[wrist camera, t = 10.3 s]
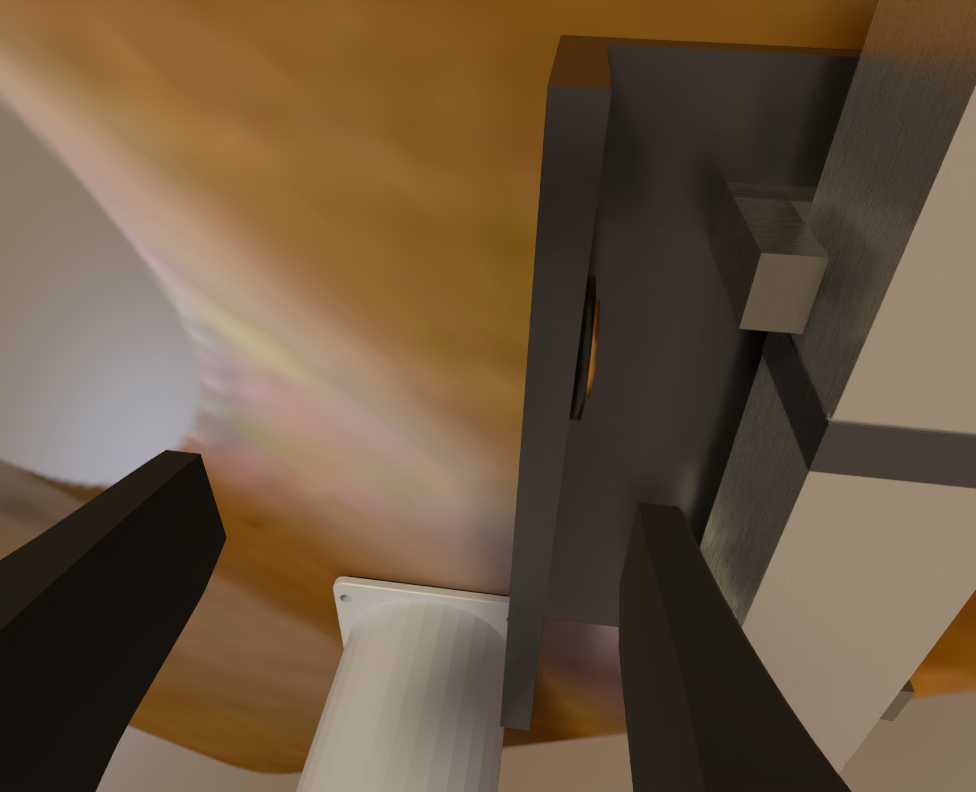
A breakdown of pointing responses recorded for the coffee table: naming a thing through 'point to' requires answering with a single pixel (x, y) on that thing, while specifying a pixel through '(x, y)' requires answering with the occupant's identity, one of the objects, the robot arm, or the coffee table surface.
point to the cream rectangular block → (868, 399)
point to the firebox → (655, 299)
